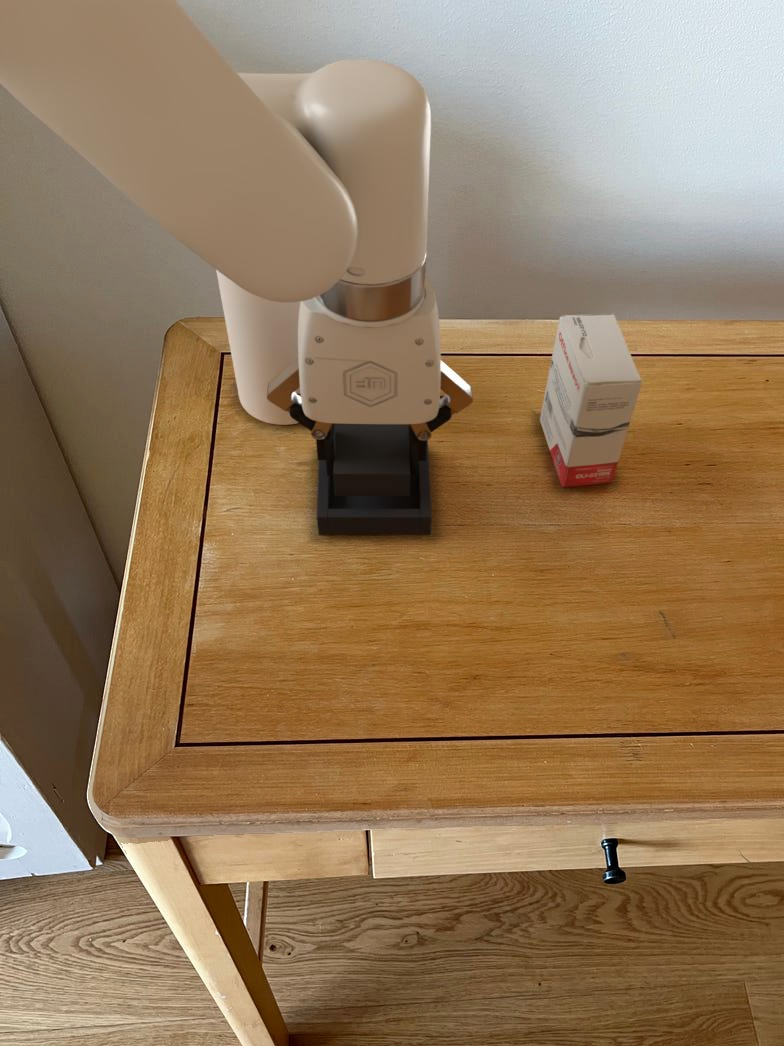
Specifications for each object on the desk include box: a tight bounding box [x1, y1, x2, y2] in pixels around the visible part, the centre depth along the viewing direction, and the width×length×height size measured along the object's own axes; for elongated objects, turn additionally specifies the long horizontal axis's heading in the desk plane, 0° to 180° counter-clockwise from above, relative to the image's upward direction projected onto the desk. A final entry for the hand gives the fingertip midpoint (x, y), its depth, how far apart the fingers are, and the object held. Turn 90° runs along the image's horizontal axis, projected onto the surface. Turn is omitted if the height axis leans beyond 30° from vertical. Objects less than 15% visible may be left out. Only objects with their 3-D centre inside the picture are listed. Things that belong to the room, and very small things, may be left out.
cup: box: [215, 269, 301, 426], centre depth 81 cm, size 8×8×16 cm
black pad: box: [333, 423, 410, 496], centre depth 78 cm, size 6×6×3 cm
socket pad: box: [316, 440, 433, 536], centre depth 81 cm, size 9×9×2 cm
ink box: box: [539, 313, 643, 488], centre depth 81 cm, size 8×5×12 cm, turn 11°
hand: (372, 461), depth 78 cm, fingers closed on black pad, 5 cm apart
